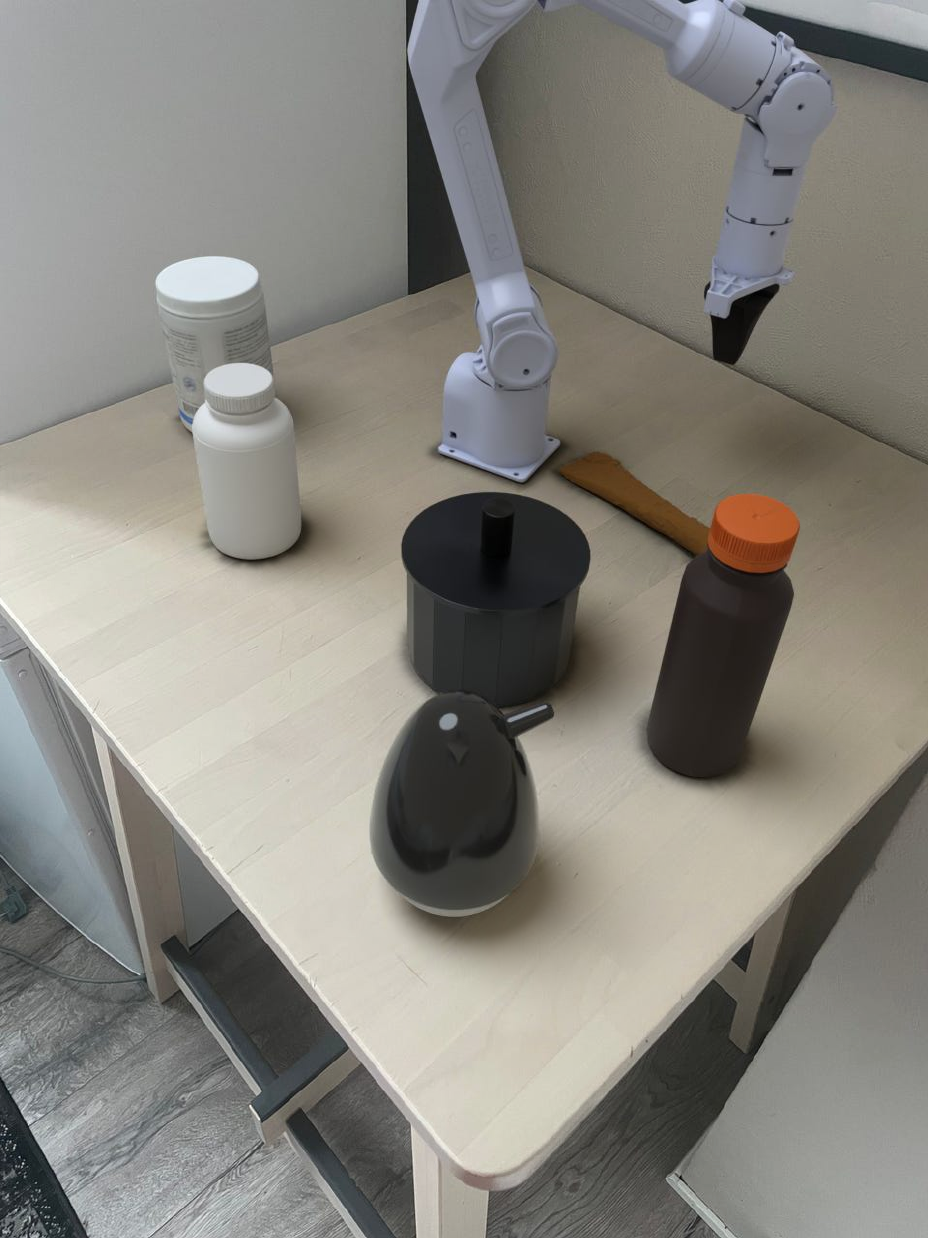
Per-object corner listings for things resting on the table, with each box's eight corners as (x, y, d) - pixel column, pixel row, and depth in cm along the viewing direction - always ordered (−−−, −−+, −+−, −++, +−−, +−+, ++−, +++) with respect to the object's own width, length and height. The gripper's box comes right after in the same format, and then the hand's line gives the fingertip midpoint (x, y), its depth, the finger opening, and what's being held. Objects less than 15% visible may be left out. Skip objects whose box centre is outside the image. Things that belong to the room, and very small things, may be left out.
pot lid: (364, 577, 71) (361, 524, 68) (462, 483, 80) (464, 432, 77) (534, 650, 67) (540, 597, 64) (619, 542, 75) (628, 490, 72)
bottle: (666, 694, 76) (721, 470, 63) (754, 731, 74) (831, 507, 60) (630, 754, 72) (680, 528, 58) (722, 795, 70) (797, 569, 56)
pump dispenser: (555, 926, 62) (583, 766, 52) (385, 957, 60) (378, 797, 50) (514, 793, 69) (531, 629, 59) (360, 816, 67) (351, 651, 57)
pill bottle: (322, 533, 89) (310, 379, 79) (248, 575, 85) (226, 417, 75) (263, 494, 93) (245, 343, 83) (190, 533, 89) (161, 377, 78)
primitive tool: (555, 472, 97) (559, 440, 95) (598, 454, 100) (603, 423, 97) (706, 582, 86) (715, 549, 84) (749, 558, 89) (759, 526, 86)
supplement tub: (274, 389, 106) (259, 251, 96) (282, 439, 100) (267, 296, 90) (178, 397, 105) (153, 257, 95) (180, 449, 98) (153, 303, 88)
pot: (377, 665, 78) (373, 569, 71) (461, 576, 86) (464, 482, 79) (521, 732, 73) (532, 636, 67) (595, 631, 81) (611, 536, 75)
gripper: (778, 253, 80) (741, 406, 89) (831, 196, 89) (791, 339, 98) (693, 232, 82) (665, 383, 91) (752, 178, 92) (721, 320, 101)
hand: (725, 359), depth 95 cm, fingers closed
